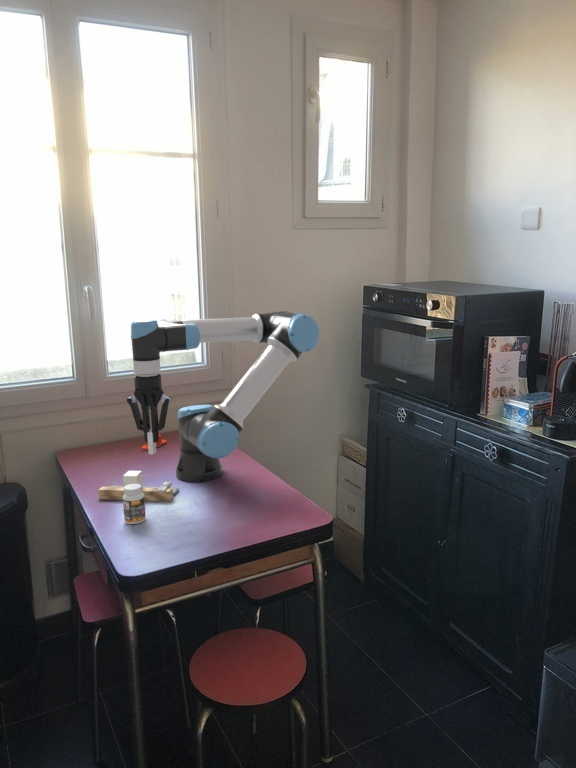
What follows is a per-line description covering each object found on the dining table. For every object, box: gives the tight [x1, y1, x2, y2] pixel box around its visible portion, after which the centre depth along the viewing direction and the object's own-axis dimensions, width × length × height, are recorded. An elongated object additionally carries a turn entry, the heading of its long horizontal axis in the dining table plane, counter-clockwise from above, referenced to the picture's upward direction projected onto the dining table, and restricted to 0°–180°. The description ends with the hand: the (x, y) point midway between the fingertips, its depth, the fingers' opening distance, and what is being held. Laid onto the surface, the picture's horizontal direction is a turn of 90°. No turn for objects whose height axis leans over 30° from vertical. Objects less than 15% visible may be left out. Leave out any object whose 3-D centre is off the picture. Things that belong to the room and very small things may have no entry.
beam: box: [98, 486, 174, 502], centre depth 187 cm, size 22×2×3 cm, turn 83°
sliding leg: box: [122, 470, 144, 488], centre depth 188 cm, size 4×8×8 cm, turn 173°
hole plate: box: [109, 485, 180, 497], centre depth 192 cm, size 22×4×1 cm, turn 83°
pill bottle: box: [122, 484, 147, 525], centre depth 171 cm, size 6×6×10 cm
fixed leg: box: [157, 480, 172, 492], centre depth 187 cm, size 2×7×2 cm, turn 173°
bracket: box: [141, 433, 167, 450], centre depth 237 cm, size 12×4×5 cm, turn 147°
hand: (152, 452), depth 183 cm, fingers closed
